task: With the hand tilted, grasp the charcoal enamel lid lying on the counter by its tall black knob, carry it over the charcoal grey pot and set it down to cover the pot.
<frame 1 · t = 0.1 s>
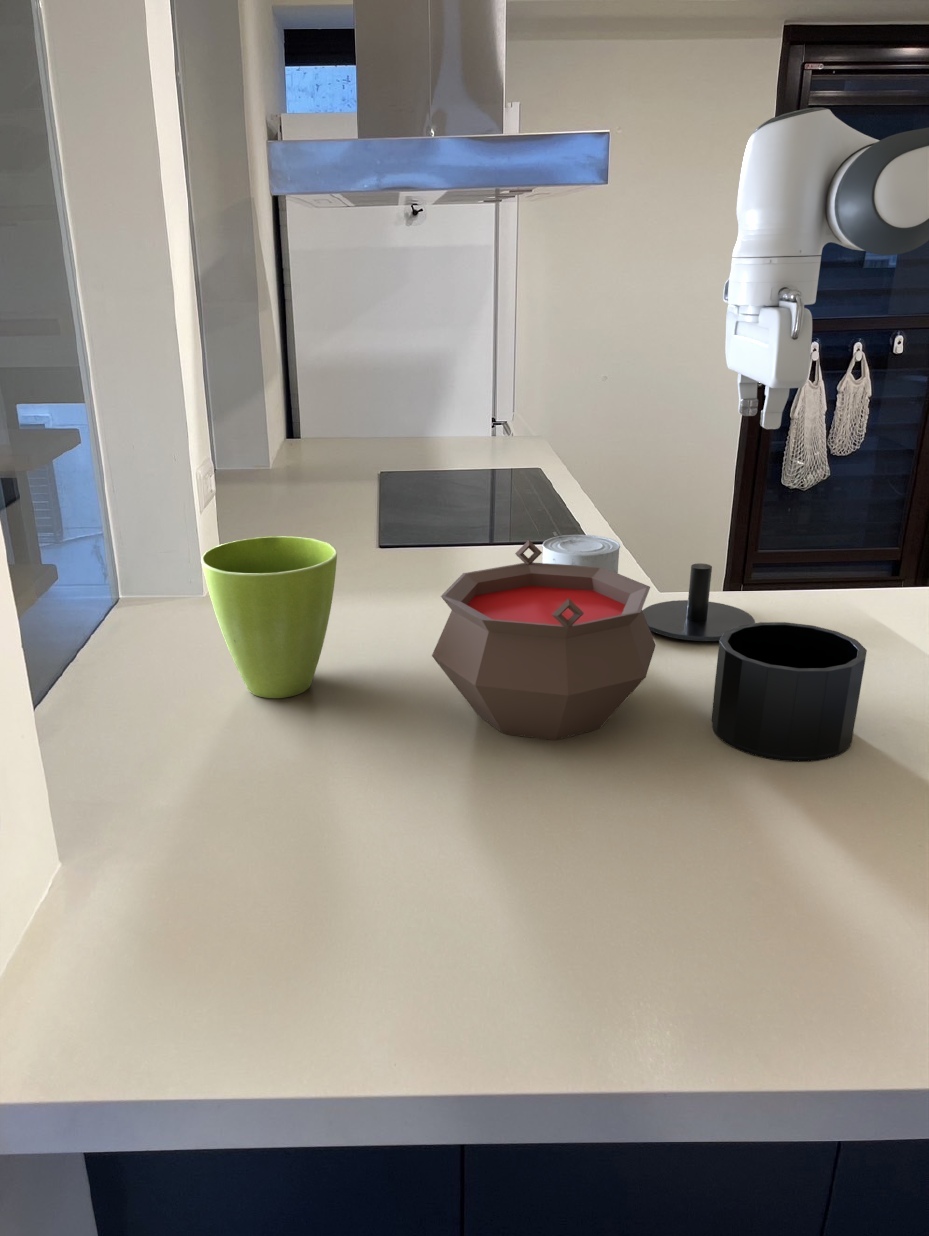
hand: (757, 421, 112), 28 cm above the table, tool pointing down, fingers open, 8 cm apart
lid: (696, 621, 133), point 1 cm above the table
flower pot: (280, 688, 118), on the table
pot: (780, 731, 104), on the table
tin can: (576, 638, 131), on the table
brown cauldron: (542, 713, 110), on the table
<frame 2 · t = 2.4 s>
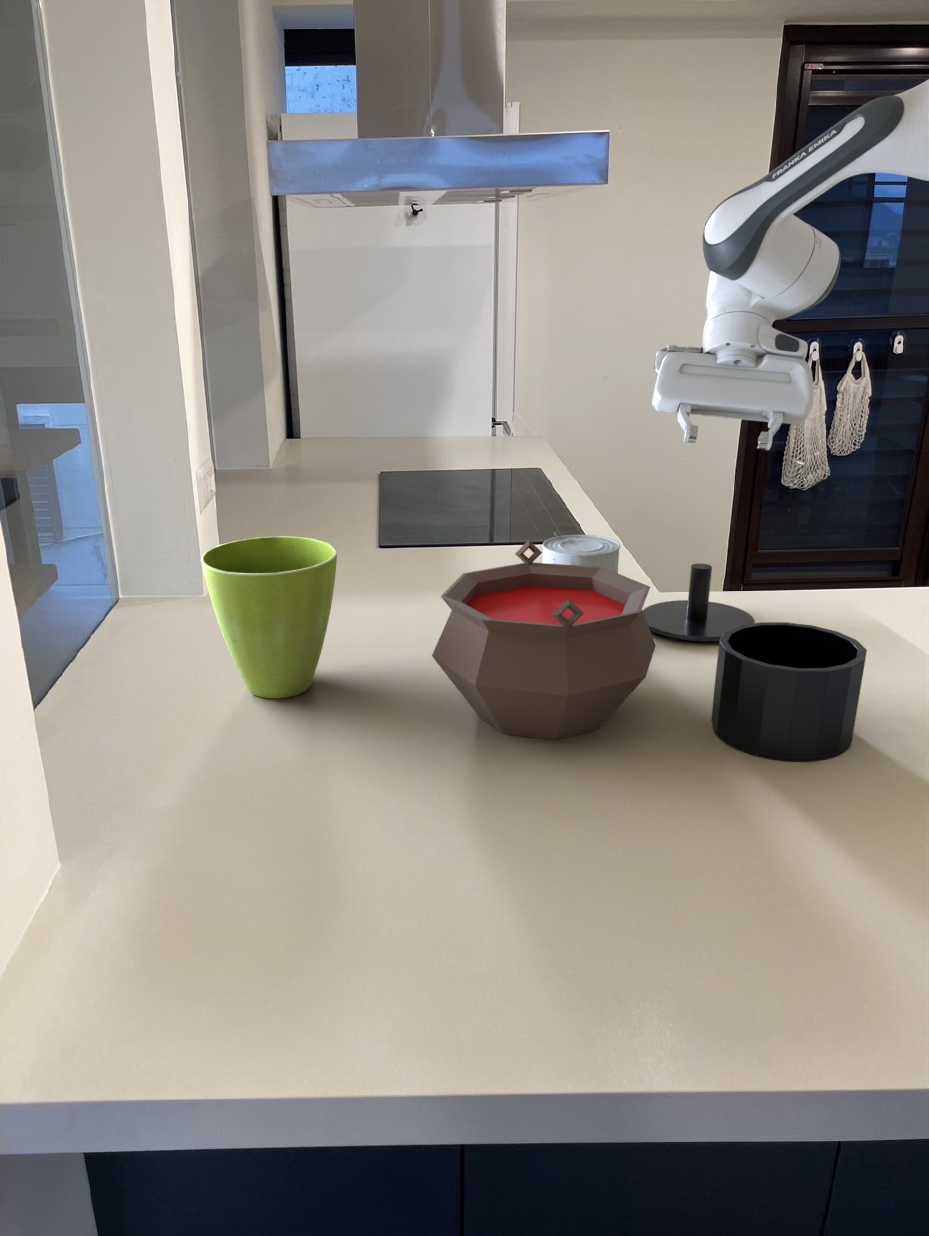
hand: (727, 444, 131), 22 cm above the table, tool tilted 40°, fingers open, 8 cm apart
nothing on the table moved.
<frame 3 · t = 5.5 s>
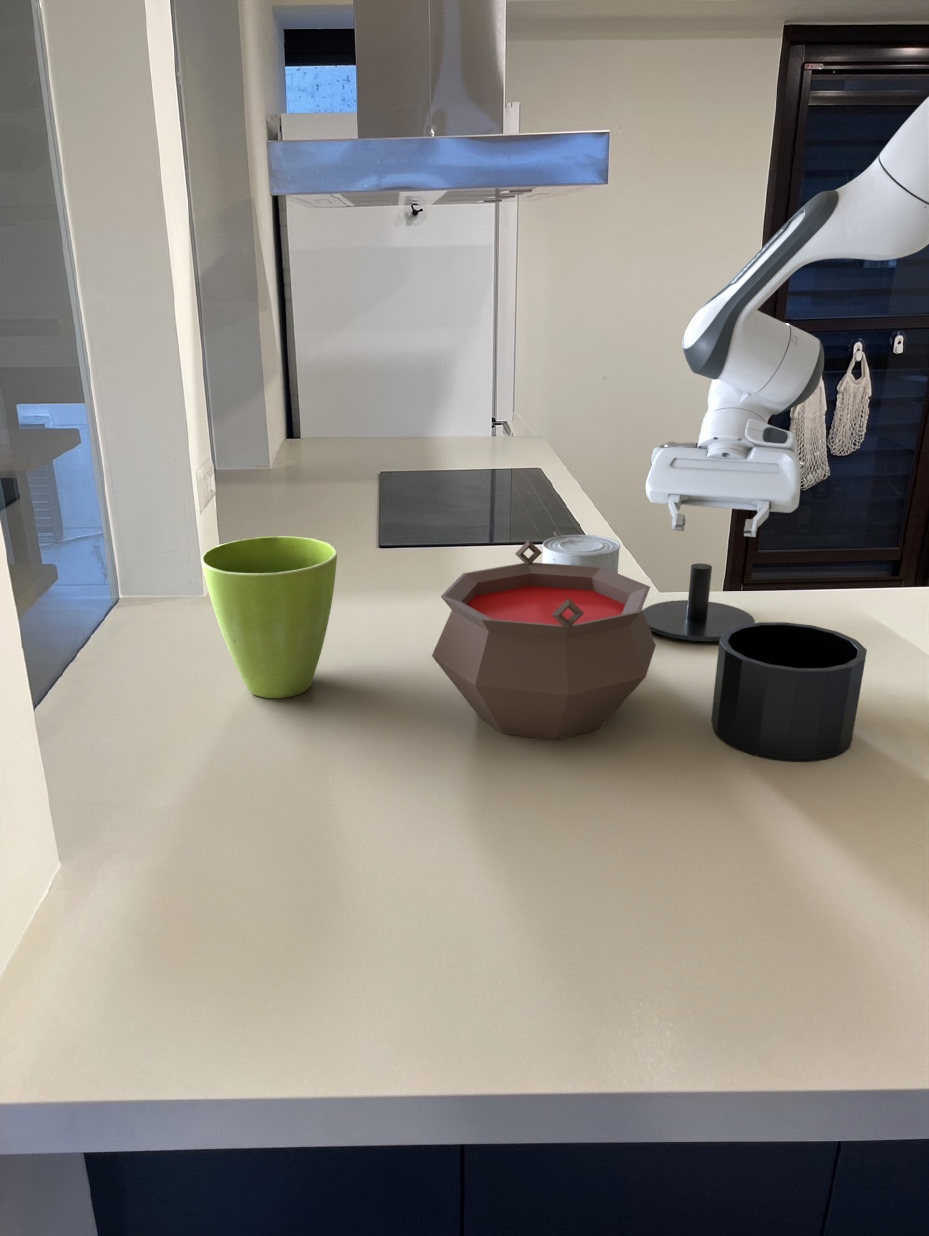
hand: (712, 531, 135), 11 cm above the table, tool tilted 45°, fingers open, 8 cm apart
nothing on the table moved.
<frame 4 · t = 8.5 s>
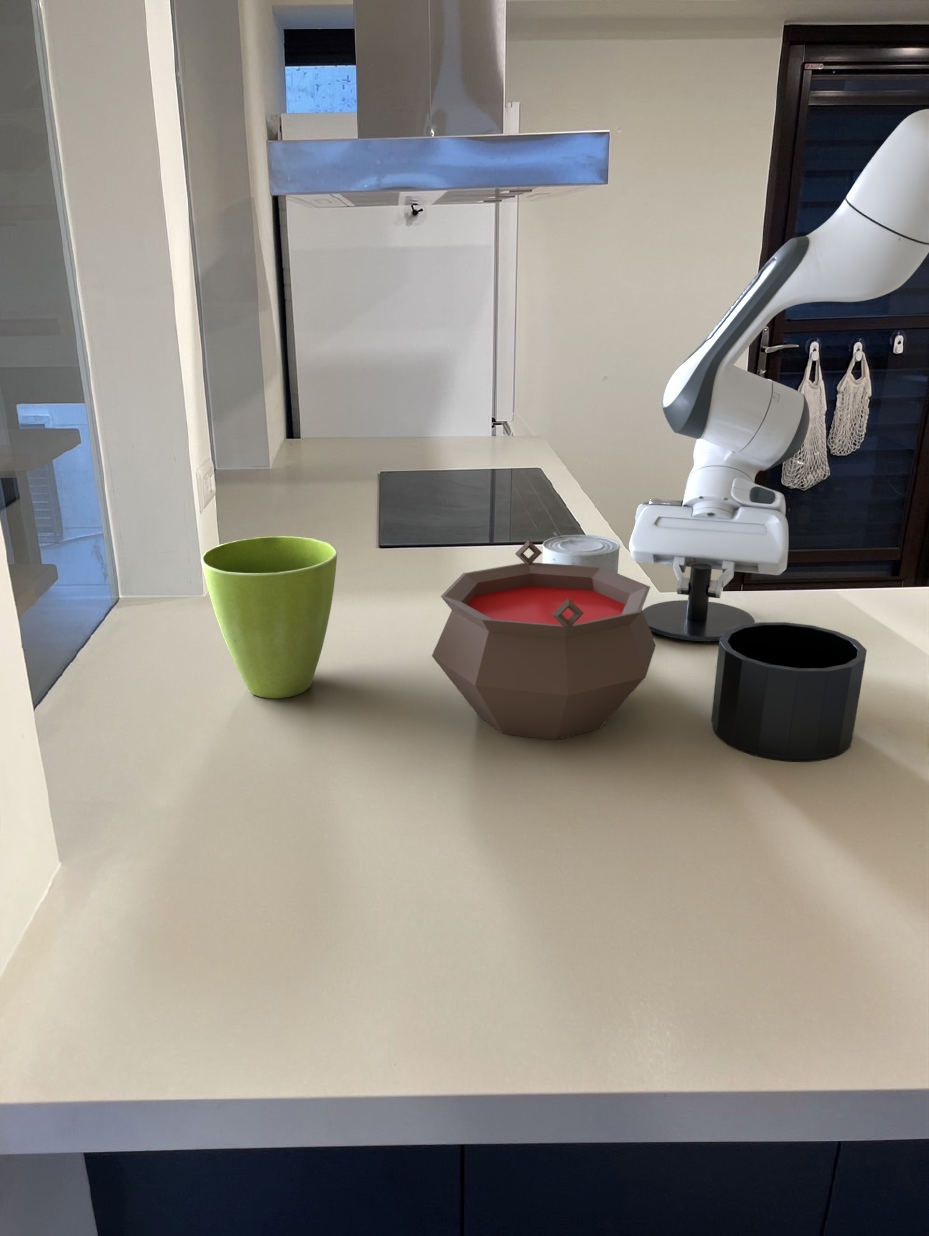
hand: (698, 594, 131), 5 cm above the table, tool tilted 45°, fingers closed on lid, 2 cm apart
lid: (696, 621, 133), point 1 cm above the table, touching gripper
everything else where it was.
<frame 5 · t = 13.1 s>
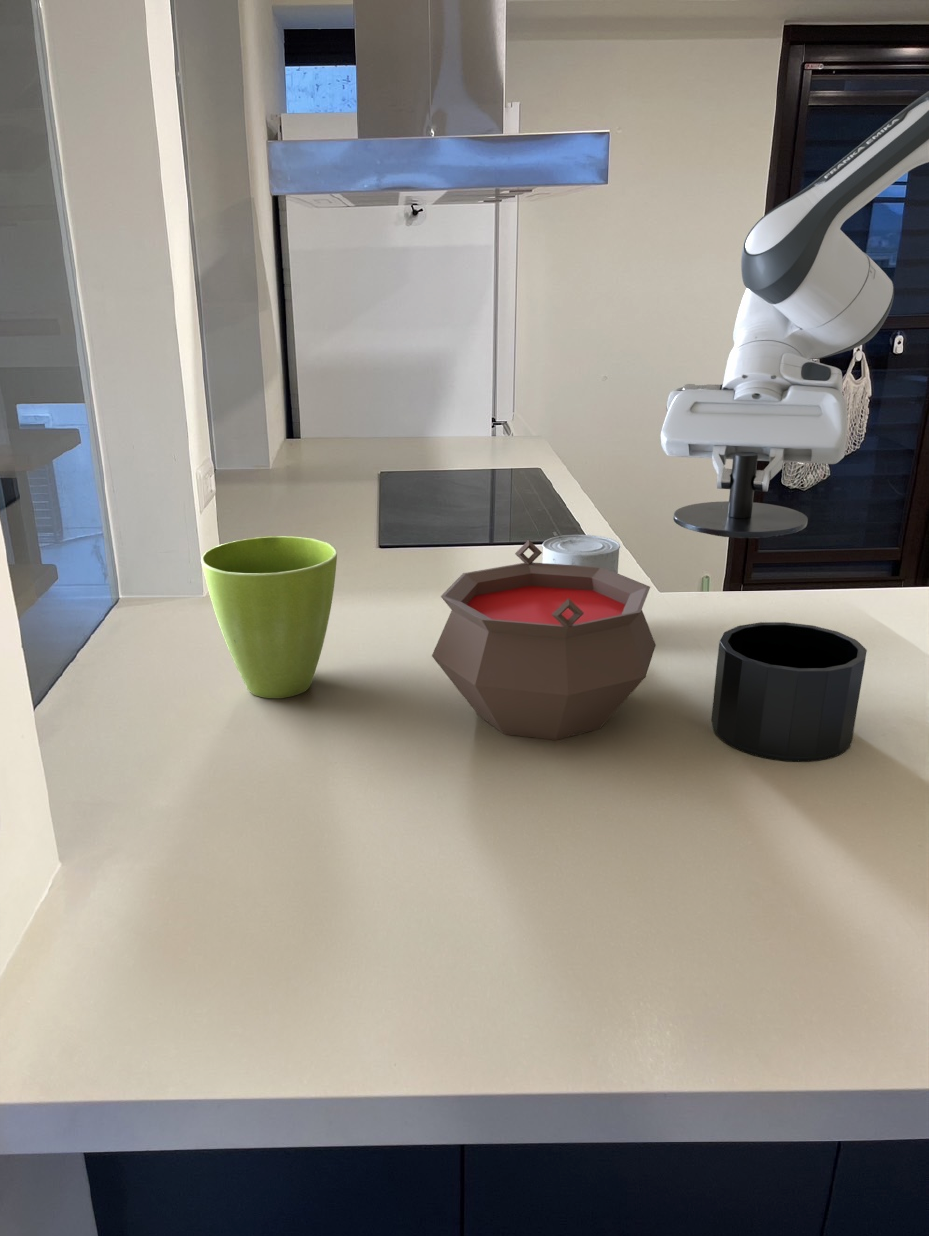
hand: (742, 487, 113), 21 cm above the table, tool tilted 45°, fingers closed on lid, 2 cm apart
lid: (739, 520, 115), point 17 cm above the table, touching gripper
everything else where it was.
when the fingers open (13 cm above the table, at t = 18.1 s): lid stays where it is, resting on pot.
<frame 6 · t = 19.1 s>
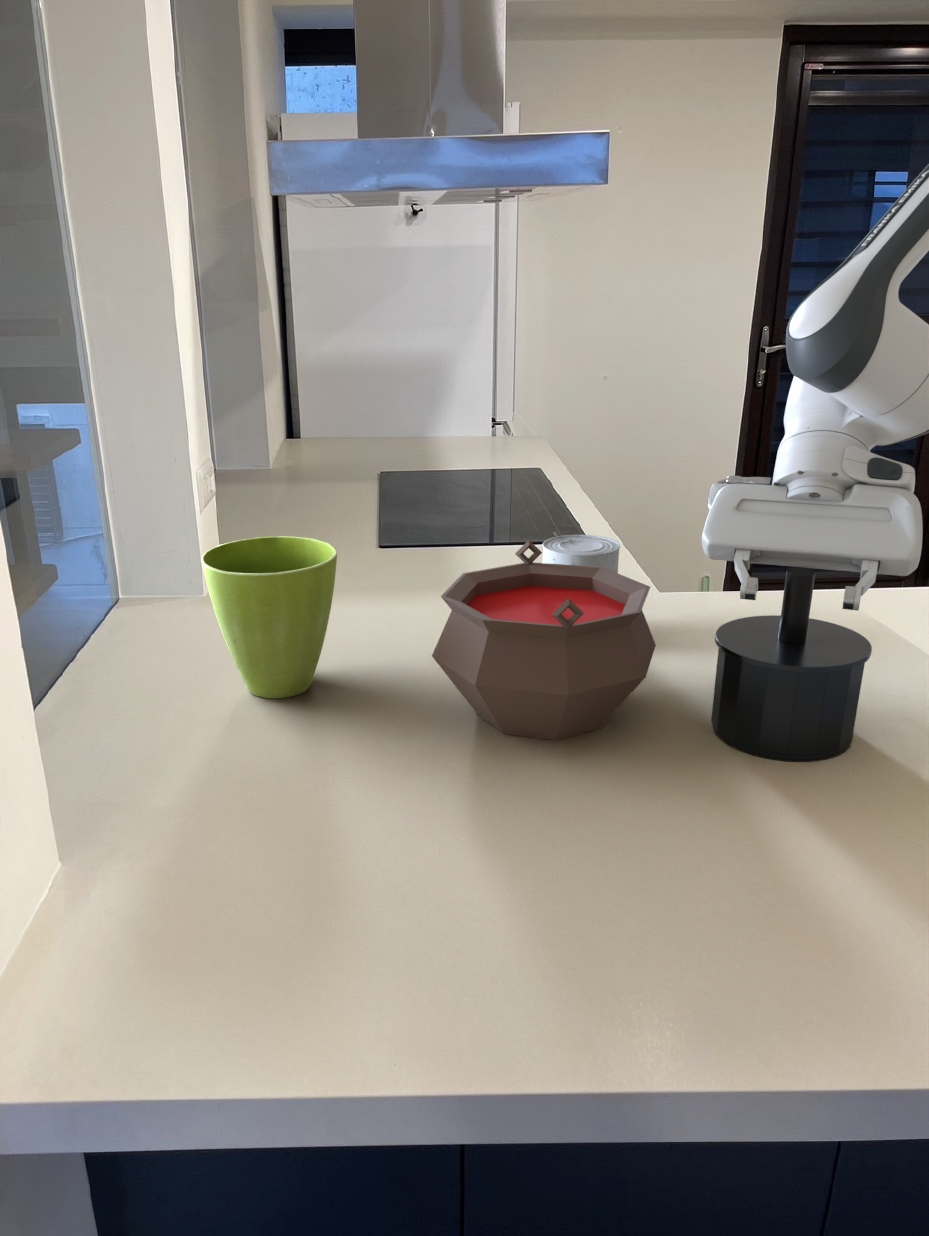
hand: (798, 602, 98), 14 cm above the table, tool tilted 45°, fingers open, 8 cm apart
lid: (791, 645, 100), point 9 cm above the table, touching pot
everything else where it was.
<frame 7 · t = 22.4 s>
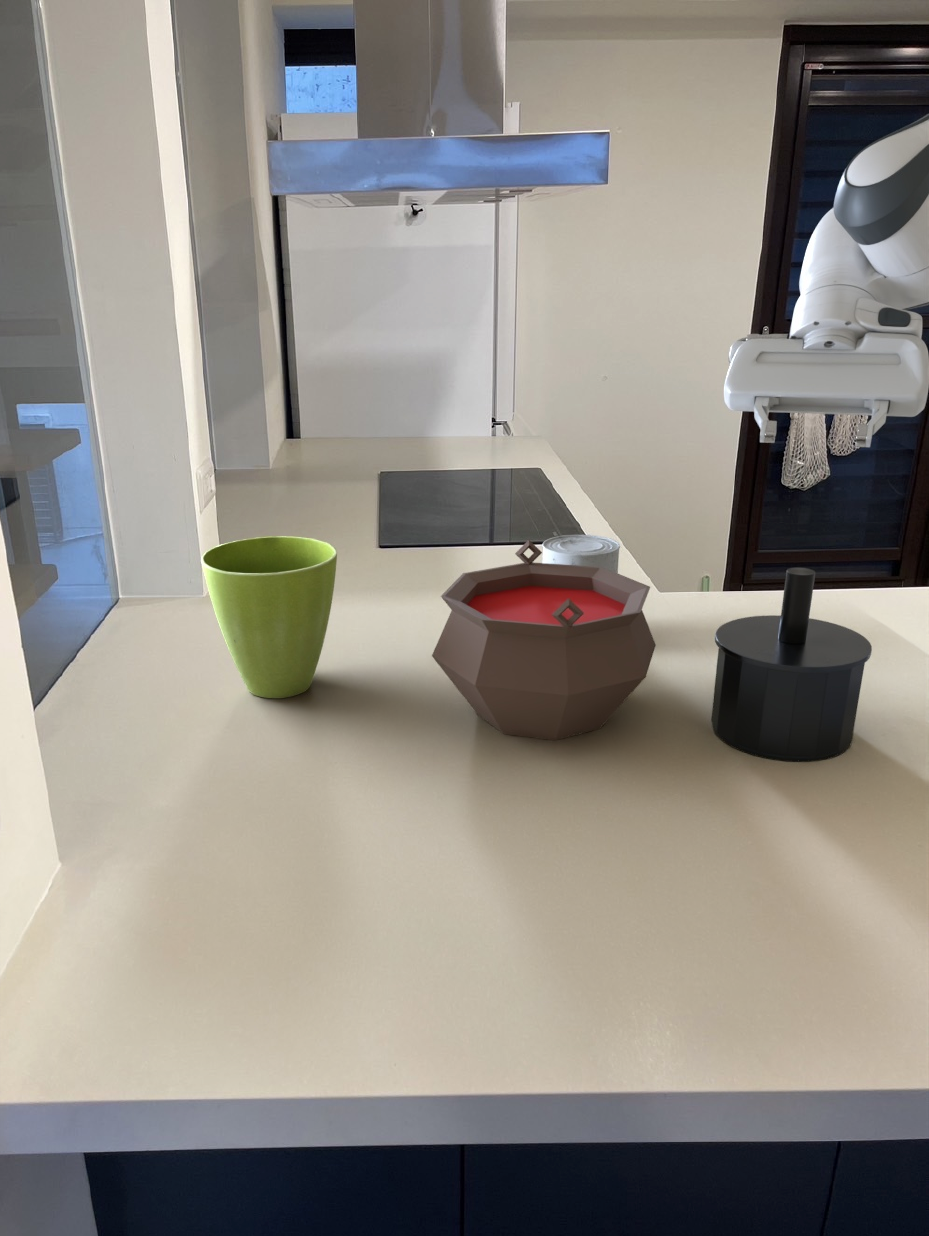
hand: (814, 441, 106), 27 cm above the table, tool tilted 45°, fingers open, 8 cm apart
nothing on the table moved.
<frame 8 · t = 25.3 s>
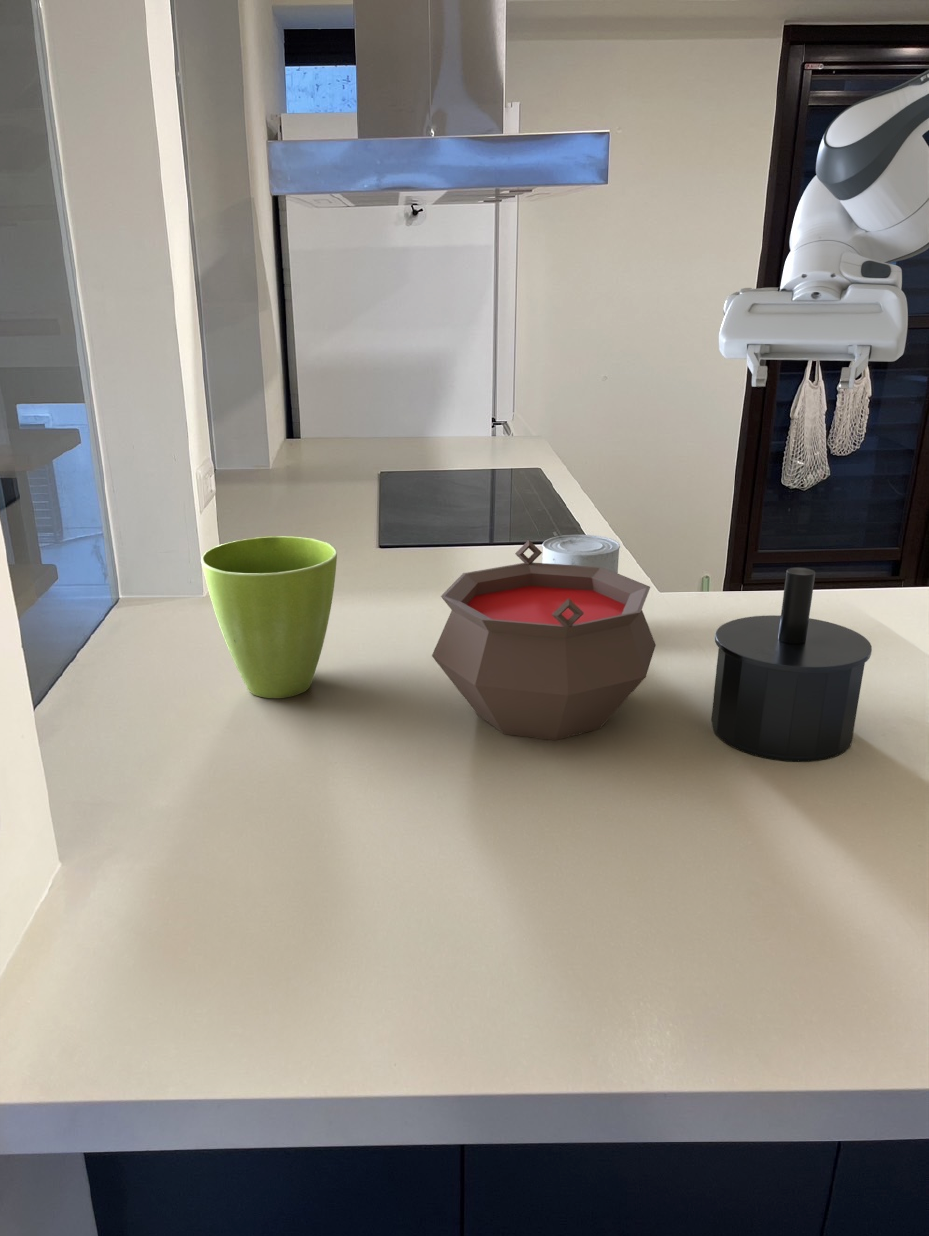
hand: (801, 384, 114), 31 cm above the table, tool tilted 45°, fingers open, 8 cm apart
nothing on the table moved.
at the end: lid 0.1 cm off-centre on the pot, point 9.5 cm above the pot's base; lid tilted 0°; the gripper is holding nothing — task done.
